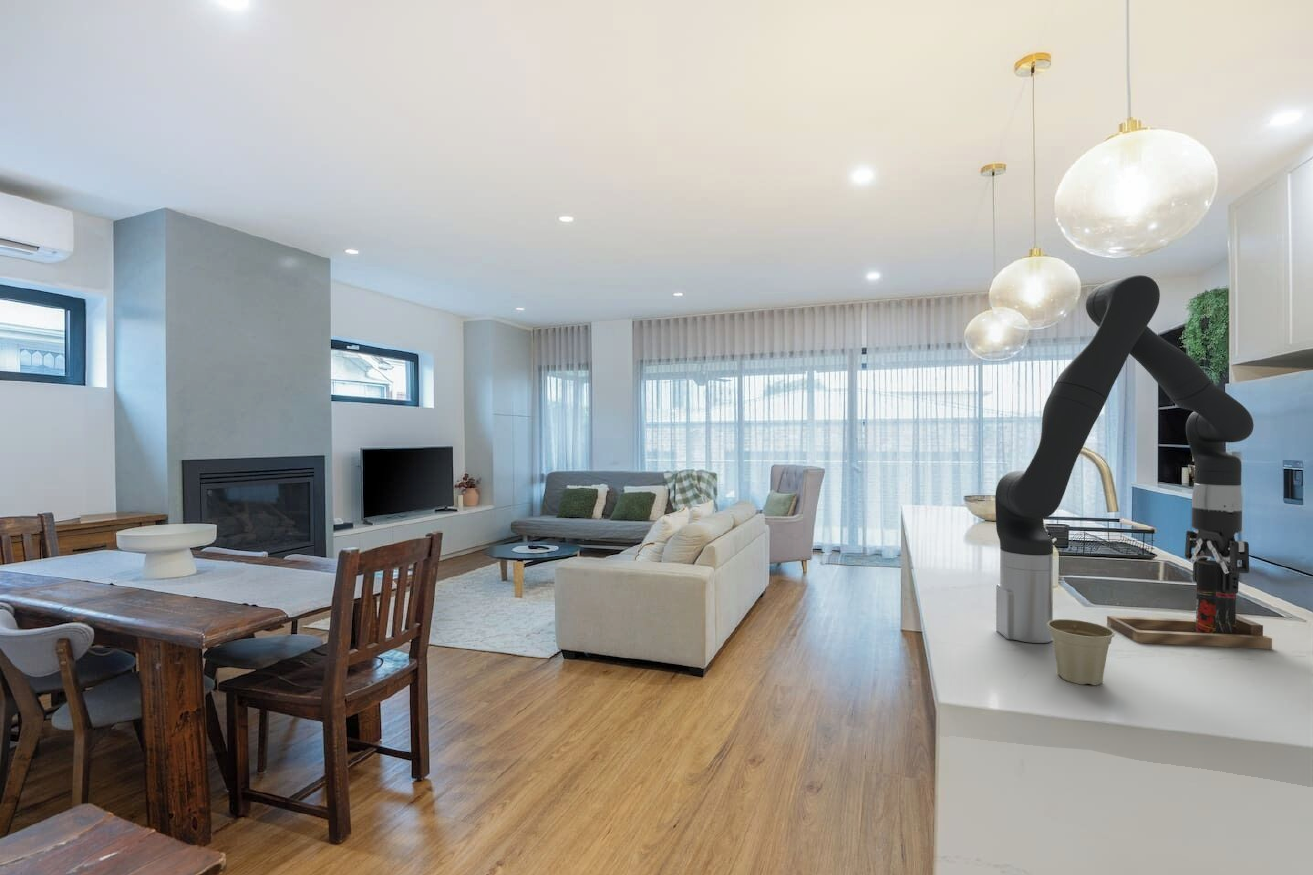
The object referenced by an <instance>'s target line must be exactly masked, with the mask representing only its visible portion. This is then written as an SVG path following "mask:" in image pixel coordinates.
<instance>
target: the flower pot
mask: <svg viewBox="0 0 1313 875" xmlns="http://www.w3.org/2000/svg"><path fill="white" fill-rule="evenodd" d="M1047 626H1048V627H1049V628H1050V633H1051V635H1052V637H1053V640H1052V641H1053V648H1054V654H1055V662H1056V668H1057V675H1059V676H1060V677H1061V679H1062V680H1065V681H1067V682H1070V683H1074V684H1076V685H1083V686H1084V685H1087V684H1089V685H1091V686H1097V685H1098V686H1099V685H1101V684H1102V683H1103V682H1104V681H1103V680H1104V673H1105V668H1106V661H1107V656H1108V651H1109V646H1110V645H1111V643H1112V638H1114V637H1115V635H1116V633H1115V630H1114V629H1112V628H1111V627H1107V626H1105V625H1101V624H1098V623H1095V622H1091V621H1084V620H1079V619H1078V620H1077V619H1069V618H1068V619H1067V618H1065V619H1063V618H1061V619H1059V618H1058V619H1053V620H1051V621H1049V622H1048V623H1047Z"/></svg>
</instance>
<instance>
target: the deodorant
mask: <svg viewBox="0 0 1313 875" xmlns="http://www.w3.org/2000/svg"><path fill="white" fill-rule="evenodd" d="M1228 566H1229V567H1230V564H1228ZM1223 573H1224V571H1223V569H1222V567H1221V565H1220V564H1219V563H1217V562H1216V560H1211V559H1210V560H1198V561H1197V577H1196V582H1195V583H1196V588H1195V591H1196V592H1195V598H1196V600H1195V602H1196V603H1195V609H1196V610H1195V620H1196V631H1195V633H1213V634H1235V635H1236V615H1237V594H1228V593H1225V592H1223ZM1224 574H1225V573H1224Z"/></svg>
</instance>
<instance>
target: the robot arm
mask: <svg viewBox="0 0 1313 875" xmlns="http://www.w3.org/2000/svg"><path fill="white" fill-rule="evenodd" d="M1159 288H1160V286H1159V285H1158V284H1157V282H1156V281H1155V280H1154V279H1153V278H1151V277H1150V276H1147V275H1142V274H1140V275H1138V274H1137V275H1130V276H1125V277H1122V278H1119V279H1115V280H1111V281H1109V282H1108V281H1107V282H1106V283H1105V282H1104V283H1103V284H1100V285H1097V286H1096V287H1095V288H1093V289H1092V290H1091V291H1090V292H1089V294H1088V296H1087V298H1086V301H1085V310H1086V313H1087V315H1088V317H1089V319H1090V320H1091V322H1093V323H1094V324H1095V325H1096V326H1098V329H1097V331H1096V333H1095V334H1094V336H1093V337H1092V338H1091V340H1090V341H1089V343H1088V344H1087V345H1086V346H1085V347H1084V348H1083V349H1082V350H1081V351H1080V353H1078V354H1077V355H1076V357H1074V358H1073V360H1071V361H1070V362H1069V363H1068V365H1067V366H1066V367H1065V368H1064V369H1063V371H1062V372H1061V373H1060V375H1058V378H1057V379H1056V381H1055V383H1054V386H1052V389H1051V391H1050V392H1049V395H1048V397H1047V399H1046V402H1045V404H1044V407H1043V411H1042V417H1041V433H1040V440H1039V444H1038V448H1037V449H1036V451H1035V454H1034V456H1033V457H1032V459H1031V461H1030V463H1029V464H1028V467H1027V468H1026V470H1024V471H1023V470H1016V471H1010V472H1009V473H1006V474H1005V475H1004V476H1002V477H1001V479H999V481H998V483H997V486H996V488H995V495H994V496H995V499H994V502H995V503H994V505H995V508H994V510H995V527H996V533H997V537H998V540H999V546H1000V547H999V552H1000V553H999V557H1000V558H999V583H998V584H996V587H995V589H996V590H995V591H996V592H995V597H996V598H995V600H996V601H995V602H996V603H995V606H996V607H995V608H996V610H995V612H996V613H995V615H996V617H995V621H996V623H995V625H996V626H995V629H996V631H997V632H998V633H999V634H1001V635H1002V636H1003V637H1004V638H1005V639H1007V640H1015V641H1019V642H1025V643H1033V644H1045V643H1051V642H1052V641H1053V637H1052V635H1051V633H1050V628H1049V627H1048V626H1047V623H1048V622H1049V621H1051V620H1054V615H1053V614H1054V607H1053V606H1054V600H1053V599H1054V541H1053V539H1052V538H1051V536H1050V535H1049V534H1048V532H1047V531H1046V528H1045V525H1044V519H1047V518H1048V517H1050V516H1052V514H1054V513H1055V512H1056V511H1057V509H1058V508H1059V507H1060V505H1061V502H1062V500H1063V498H1064V495H1065V492H1066V490H1067V486H1068V484H1069V481H1070V478H1071V476H1072V473H1073V469H1074V467H1075V464H1076V462H1077V459H1078V457H1079V455H1080V454H1081V452H1082V449H1083V448H1084V446H1085V444H1086V441H1087V439H1088V437H1089V435H1090V433H1091V431H1092V429H1093V427H1094V425H1095V422H1097V420H1098V418H1099V416H1100V414H1101V413H1102V410H1103V408H1104V406H1105V403H1106V402H1107V400H1108V397H1109V396H1110V393H1111V391H1112V388H1113V386H1114V384H1115V383H1116V381H1117V379H1118V377H1119V375H1120V373H1121V371H1122V369H1123V367H1124V366H1125V363H1126V361H1127V359H1128V357H1129V355H1130V356H1131V357H1132V358H1134V360H1135V361H1137V363H1138V364H1140V365H1141V366H1142V367H1143V368H1144V369H1145V370H1146V371H1147V373H1149V374H1150V376H1151V377H1152V378H1153V379H1154V381H1156V383H1157V384H1158V385H1159V386H1160V387H1161V389H1162V390H1163V391H1164V393H1165V394H1166V395H1167V396H1168V398H1169V399H1170V400H1171V401H1172V403H1174V404H1175V405H1176V406H1177V408H1178V407H1179V408H1180V409H1183V410H1187V411H1193V412H1191V413H1190V415H1189V416H1188V418H1187V420H1186V423H1185V434H1186V440H1187V442H1188V443H1187V444H1188V446H1189V449H1190V452H1191V456H1192V459H1193V462H1194V472H1193V473H1194V476H1193V477H1194V479H1193V480H1194V481H1193V483H1194V484H1193V490H1192V495H1191V496H1192V497H1191V498H1192V499H1191V528H1193V529H1195V530H1187V531H1186V533H1185V548H1184V558H1185V559H1186V560H1187V559H1189V560H1190V563H1191V564H1192V581H1193V582H1194V583H1196V577H1197V561H1198V560H1211V559H1214V561H1216V562H1217V563H1219V564H1220V565H1221V567H1222V569H1223V571H1224V573H1225V574H1224V573H1223V592H1225V593H1228V594H1236V595H1237V594H1238V593H1239V588H1240V587H1239V584H1240V583H1239V582H1240V581H1239V580H1240V577H1239V576H1240V575H1242V574H1249V573H1250V549H1249V548H1250V547H1249V546H1250V545H1249V542H1248V541H1243V540H1242V541H1241V540H1240V541H1239V540H1236V538H1235V535H1236V534H1237V533H1238V534H1239V533H1241V532H1242V529H1243V491H1242V470H1243V469H1242V461H1241V459H1240V458H1239V457H1237V456H1235V455H1232V454H1229V453H1228V452H1226V450H1225V446H1224V444H1223V443H1238V442H1242V441H1245V440H1246V439H1248V438H1249V437H1250V436H1251V435H1252V433H1253V431H1254V420H1253V418H1252V415H1251V413H1250V412H1249V411H1248V409H1247V408H1246V407H1245V406H1244V405H1242V404H1241V403H1240V402H1239V401H1237V399H1235V398H1233V397H1232V396H1231V395H1230V394H1228V393H1227V392H1226V391H1224V390H1223V389H1222V388H1220V387H1218V386H1217V385H1216V384H1214V383H1213V381H1212V380H1211V378H1209V376H1208V375H1207V373H1205V371H1204V370H1203V369H1202V367H1201V366H1200V365H1199V364H1198V362H1196V360H1195V359H1193V357H1191V356H1190V355H1188V354H1187V353H1186V352H1184V351H1183V350H1181V349H1180V348H1179V347H1176V346H1175V345H1174V344H1172V343H1170V342H1169V341H1167V340H1166V339H1164V338H1163V337H1162V336H1160V335H1158V334H1157V333H1156V332H1155V331H1153V330H1152V329H1151V328H1150V327H1149V326H1148V325H1149V323H1150V322H1151V320H1152V319H1153V317H1154V315H1155V314H1156V312H1157V309H1158V306H1159V304H1160V299H1161V298H1160V297H1161V292H1160V289H1159ZM1192 549H1193V550H1192ZM1240 561H1241V565H1240V564H1239V562H1240ZM1228 564H1230V567H1229V566H1228Z"/></svg>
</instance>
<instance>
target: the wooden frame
mask: <svg viewBox="0 0 1313 875" xmlns="http://www.w3.org/2000/svg"><path fill="white" fill-rule="evenodd" d="M1107 626H1108V628H1110V629H1112V630H1113V631H1116V632H1118V633H1120V634H1122V635H1123V636H1125V637H1127V638H1128V639H1130V640H1132V641H1134V642H1135V643H1142V644H1143V643H1144V644H1161V645H1163V644H1164V645H1183V646H1185V645H1186V646H1187V645H1188V646H1202V647H1203V646H1204V647H1222V648H1223V647H1225V648H1245V649H1262V650H1263V649H1265V650H1269V649H1270V650H1273V638H1272V637H1270V636H1267V635H1264V625H1263V624H1261V623H1257V622H1255V621H1253V620H1251V619H1247V618H1245V617H1242V616H1240V615H1238V614H1236V635H1235V634H1213V633H1196V619H1190V618H1189V619H1188V618H1184V619H1183V618H1165V617H1163V618H1162V617H1160V618H1159V617H1141V616H1140V617H1138V616H1137V617H1136V616H1121V615H1120V616H1119V615H1118V616H1117V615H1107V616H1106V627H1107ZM1162 630H1163V631H1162Z"/></svg>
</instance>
